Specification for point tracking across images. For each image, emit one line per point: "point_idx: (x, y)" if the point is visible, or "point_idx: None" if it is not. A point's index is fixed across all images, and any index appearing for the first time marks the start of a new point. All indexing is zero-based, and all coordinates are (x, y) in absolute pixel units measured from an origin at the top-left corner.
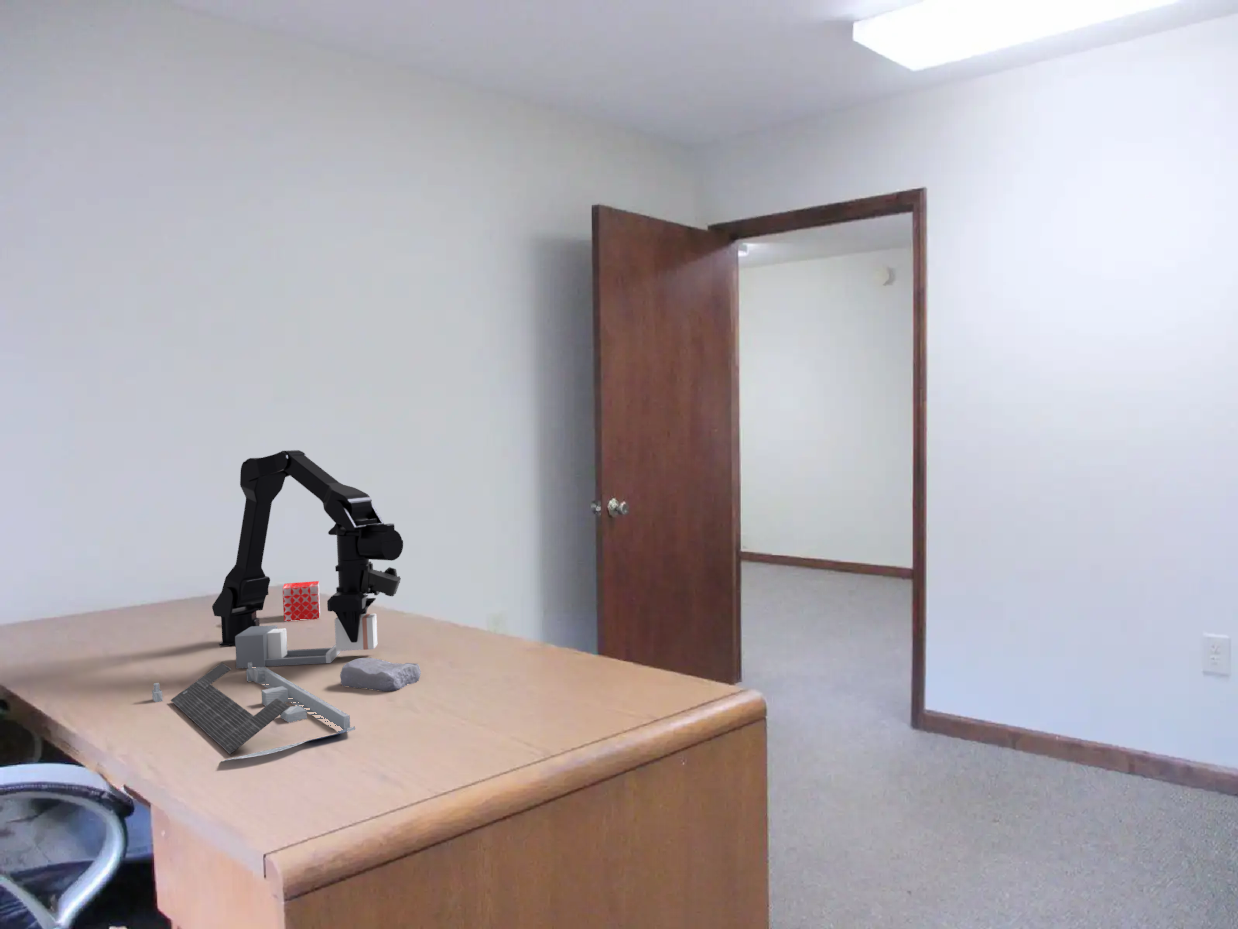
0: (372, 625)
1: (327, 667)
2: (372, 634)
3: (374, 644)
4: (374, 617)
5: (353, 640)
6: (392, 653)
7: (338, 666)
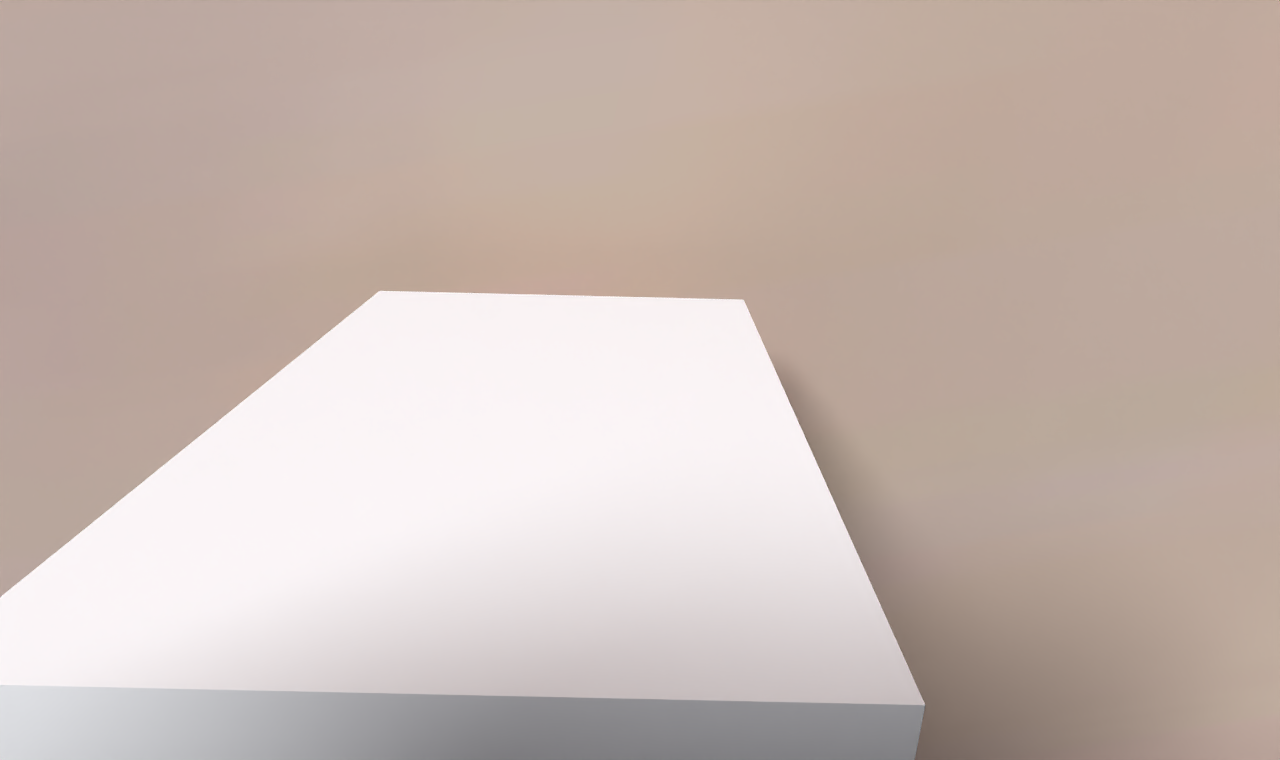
0: (837, 516)
1: (1000, 715)
2: (791, 408)
3: (664, 314)
4: (427, 630)
5: None
6: (440, 20)
7: (1002, 620)
